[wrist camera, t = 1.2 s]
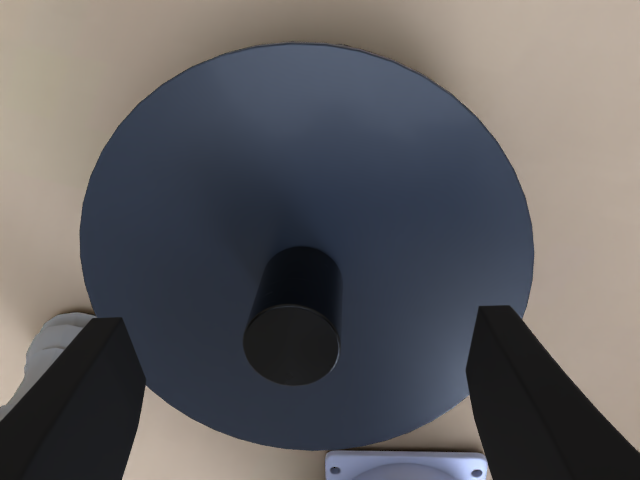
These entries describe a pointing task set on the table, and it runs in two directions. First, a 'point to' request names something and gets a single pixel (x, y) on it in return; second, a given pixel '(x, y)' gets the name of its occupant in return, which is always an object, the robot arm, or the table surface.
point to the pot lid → (304, 243)
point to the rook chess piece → (47, 351)
